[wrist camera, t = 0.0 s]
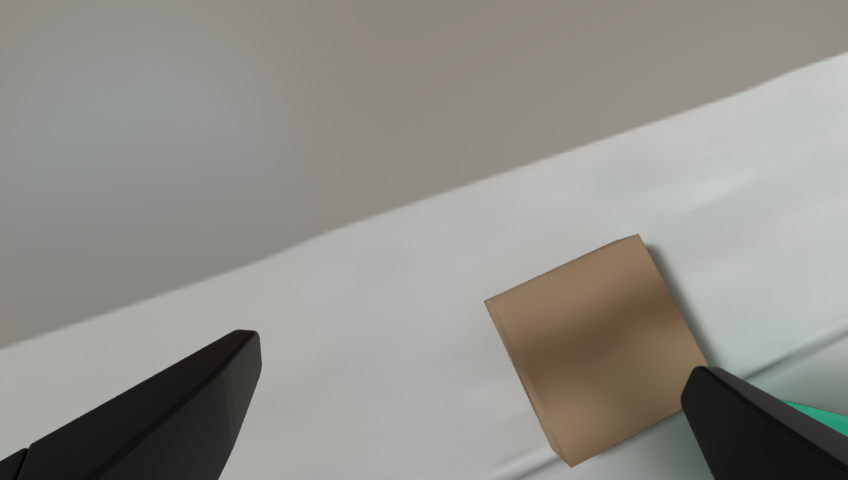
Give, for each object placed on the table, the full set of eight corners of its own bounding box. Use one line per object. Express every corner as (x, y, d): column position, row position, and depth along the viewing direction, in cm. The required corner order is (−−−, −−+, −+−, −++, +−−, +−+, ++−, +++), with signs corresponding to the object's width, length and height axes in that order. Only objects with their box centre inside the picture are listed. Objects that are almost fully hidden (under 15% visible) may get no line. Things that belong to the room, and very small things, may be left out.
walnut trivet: (686, 379, 23) (720, 388, 21) (552, 449, 22) (571, 467, 20) (614, 240, 24) (638, 233, 22) (483, 301, 23) (493, 300, 21)
